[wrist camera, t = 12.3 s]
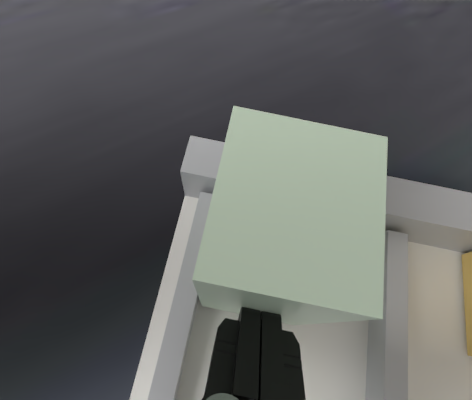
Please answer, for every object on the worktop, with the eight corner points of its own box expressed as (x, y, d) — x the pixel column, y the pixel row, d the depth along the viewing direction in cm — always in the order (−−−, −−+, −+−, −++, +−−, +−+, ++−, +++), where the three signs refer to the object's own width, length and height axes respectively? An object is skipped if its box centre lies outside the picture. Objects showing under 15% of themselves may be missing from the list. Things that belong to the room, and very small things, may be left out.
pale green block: (293, 325, 16) (382, 319, 8) (202, 306, 16) (191, 279, 8) (305, 227, 18) (387, 137, 10) (223, 210, 18) (233, 105, 10)
